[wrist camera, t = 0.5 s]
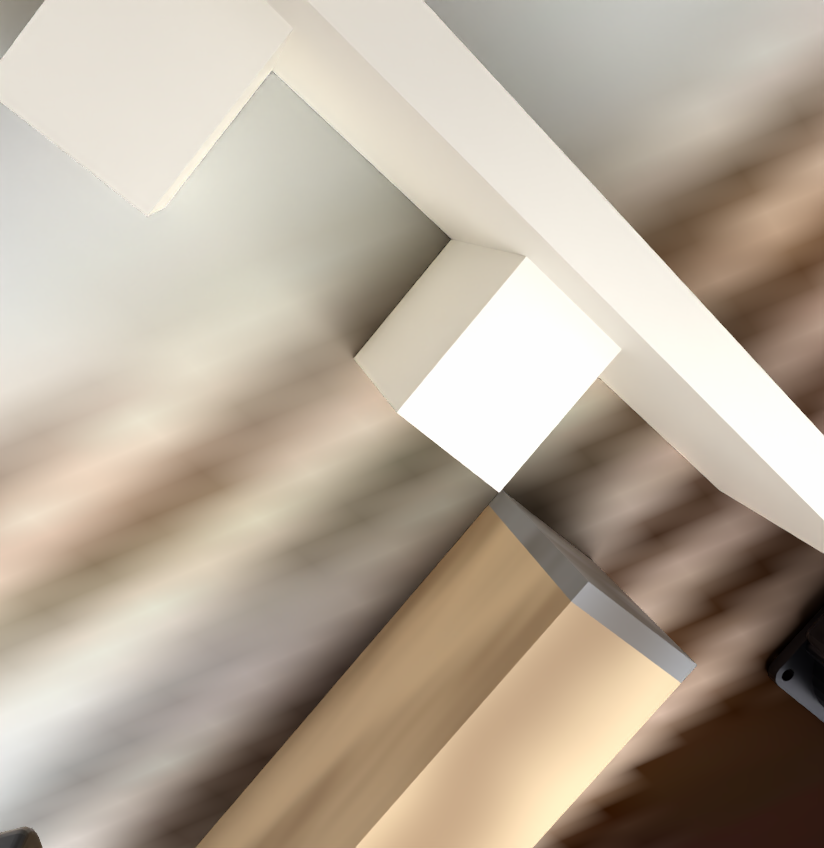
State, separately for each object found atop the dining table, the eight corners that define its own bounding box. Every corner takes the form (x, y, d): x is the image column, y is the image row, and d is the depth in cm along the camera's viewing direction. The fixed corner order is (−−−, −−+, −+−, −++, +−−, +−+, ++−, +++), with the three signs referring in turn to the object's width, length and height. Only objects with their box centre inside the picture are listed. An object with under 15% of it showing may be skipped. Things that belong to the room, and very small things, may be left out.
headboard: (753, 452, 24) (1024, 587, 16) (636, 584, 24) (844, 780, 16) (205, -97, 16) (197, -380, 8) (46, 114, 16) (-113, 46, 8)
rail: (592, 561, 23) (697, 664, 18) (282, 914, 25) (301, 1103, 20) (501, 489, 22) (588, 581, 17) (175, 871, 23) (164, 1065, 18)
